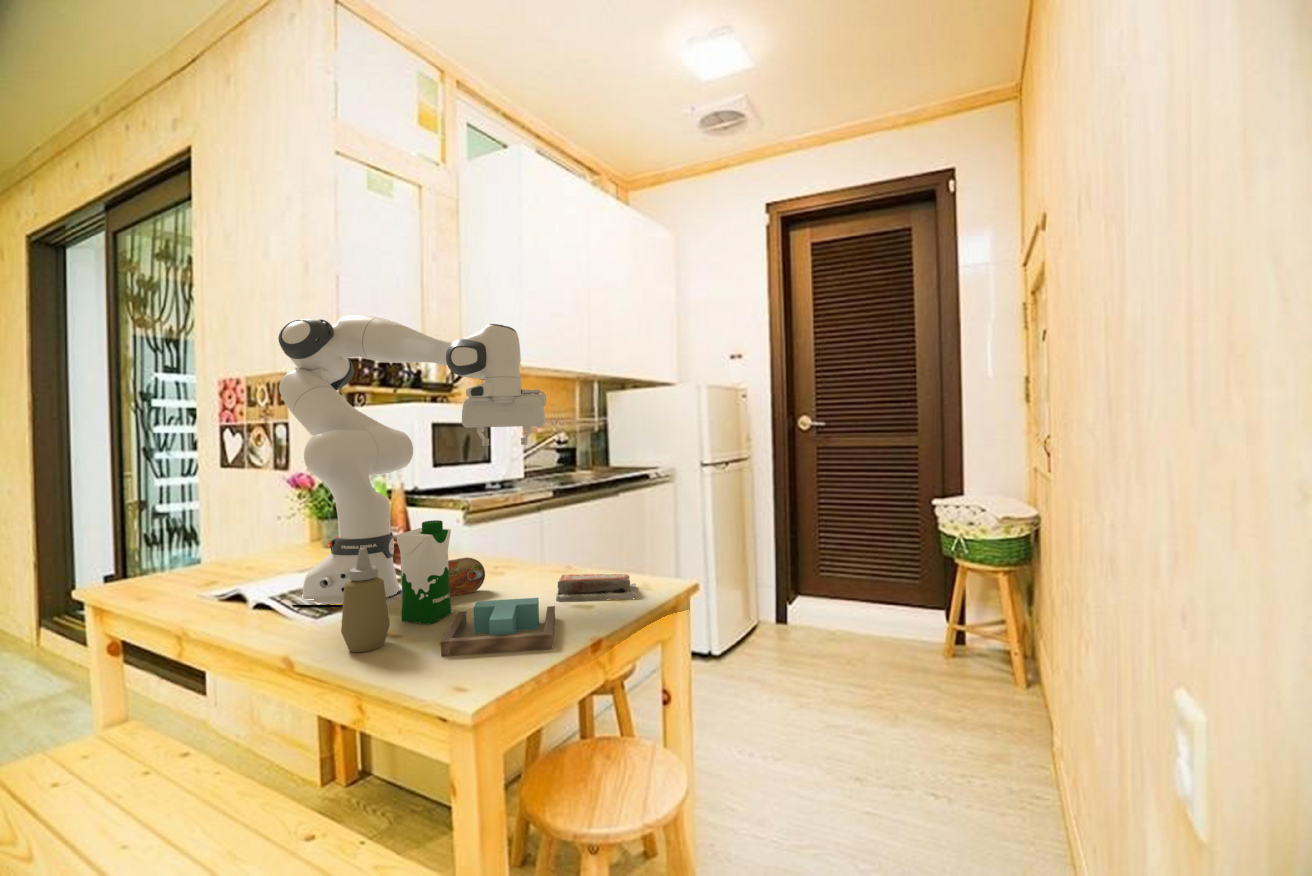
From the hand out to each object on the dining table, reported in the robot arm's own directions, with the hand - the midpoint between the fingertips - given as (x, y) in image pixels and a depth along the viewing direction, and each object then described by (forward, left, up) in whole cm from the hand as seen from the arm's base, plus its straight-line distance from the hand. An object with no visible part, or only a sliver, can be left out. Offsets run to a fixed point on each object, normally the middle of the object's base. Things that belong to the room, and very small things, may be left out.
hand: (505, 445), depth 153 cm
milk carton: (-14, -26, -34) cm, 45 cm away
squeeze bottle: (-21, -41, -34) cm, 57 cm away
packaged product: (+22, -16, -35) cm, 44 cm away
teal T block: (+3, -39, -34) cm, 52 cm away
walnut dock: (+3, -39, -34) cm, 52 cm away
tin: (-12, -10, -34) cm, 38 cm away
